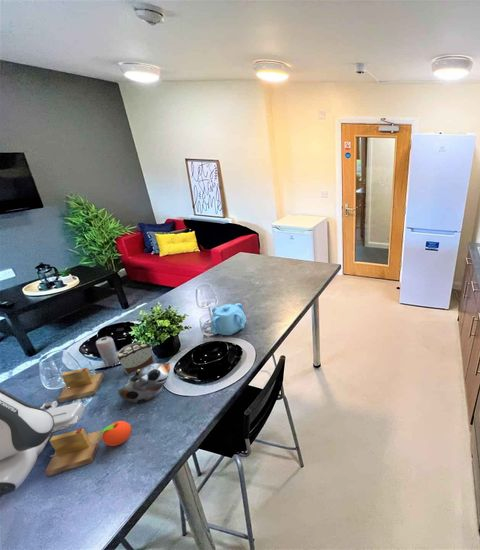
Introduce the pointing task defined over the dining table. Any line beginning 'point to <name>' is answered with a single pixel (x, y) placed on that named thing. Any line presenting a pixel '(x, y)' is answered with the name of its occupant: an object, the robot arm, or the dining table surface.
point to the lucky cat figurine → (145, 383)
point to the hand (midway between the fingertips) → (51, 403)
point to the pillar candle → (107, 351)
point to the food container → (135, 357)
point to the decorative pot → (228, 319)
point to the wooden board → (75, 456)
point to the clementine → (116, 433)
